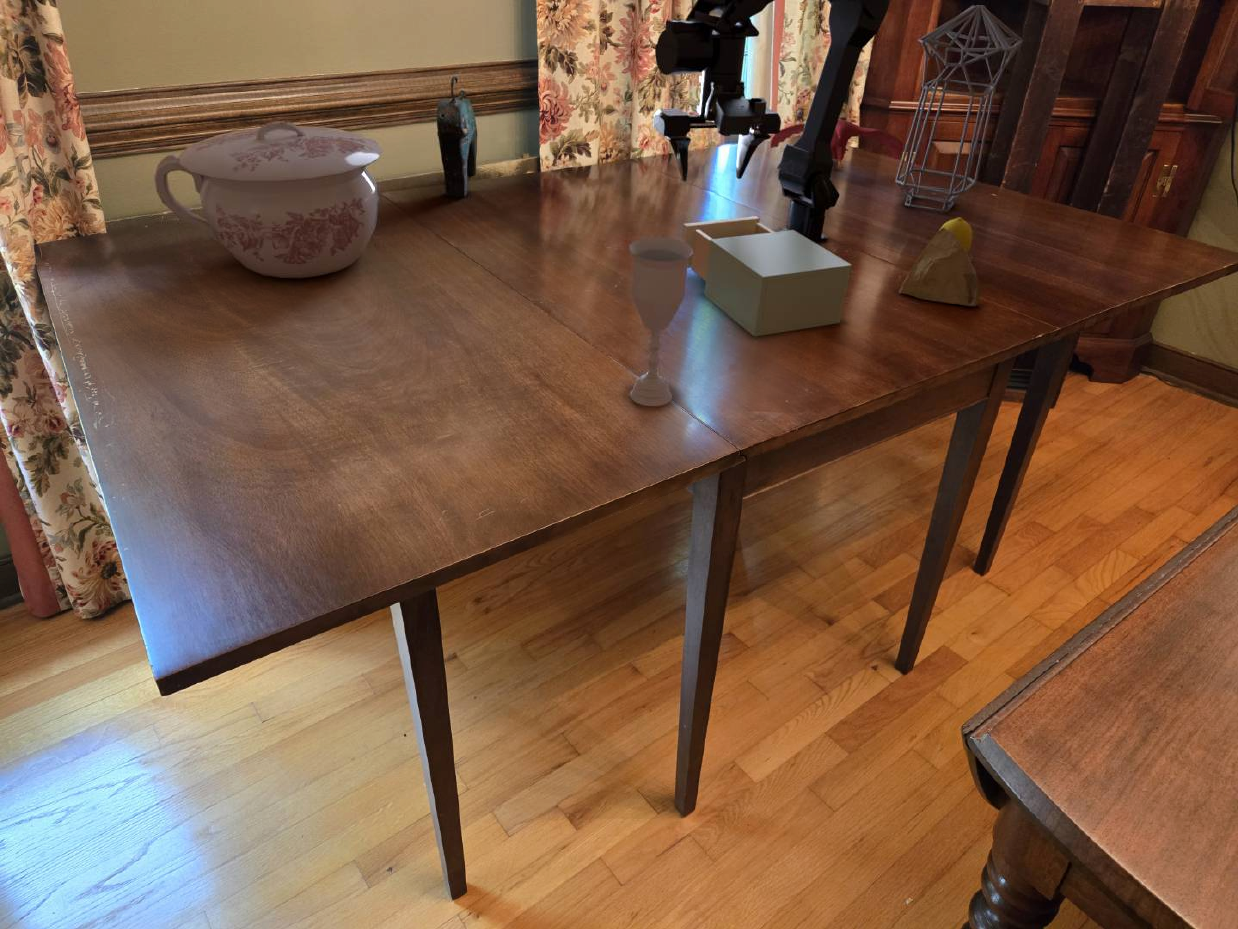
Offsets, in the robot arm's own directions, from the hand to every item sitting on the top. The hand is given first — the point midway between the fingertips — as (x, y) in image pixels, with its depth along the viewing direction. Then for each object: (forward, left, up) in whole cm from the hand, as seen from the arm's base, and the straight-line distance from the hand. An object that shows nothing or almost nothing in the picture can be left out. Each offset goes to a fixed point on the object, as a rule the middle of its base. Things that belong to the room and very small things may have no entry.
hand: (711, 179), depth 130 cm
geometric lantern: (-11, +56, -12) cm, 59 cm away
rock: (+27, +26, -12) cm, 40 cm away
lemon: (+16, +37, -12) cm, 42 cm away
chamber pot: (-16, -62, -12) cm, 65 cm away
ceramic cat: (-49, -29, -12) cm, 58 cm away
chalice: (+39, -28, -12) cm, 50 cm away
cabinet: (+22, -1, -12) cm, 25 cm away
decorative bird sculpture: (-40, +53, -13) cm, 68 cm away
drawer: (+10, -1, -11) cm, 15 cm away
